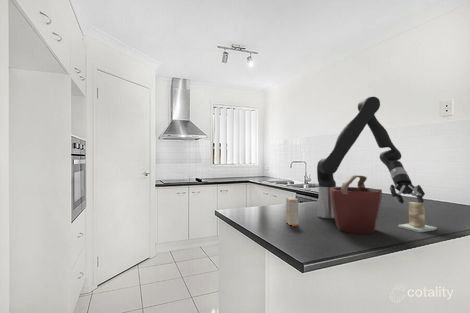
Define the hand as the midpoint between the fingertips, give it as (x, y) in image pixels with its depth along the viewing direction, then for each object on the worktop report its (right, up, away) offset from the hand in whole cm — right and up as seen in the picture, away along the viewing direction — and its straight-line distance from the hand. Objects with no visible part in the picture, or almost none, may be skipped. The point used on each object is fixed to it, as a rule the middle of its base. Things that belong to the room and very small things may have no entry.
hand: (412, 203), depth 125 cm
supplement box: (-57, -12, +5) cm, 58 cm away
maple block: (0, -10, -4) cm, 11 cm away
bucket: (-29, -12, -5) cm, 32 cm away
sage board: (0, -11, -4) cm, 12 cm away
